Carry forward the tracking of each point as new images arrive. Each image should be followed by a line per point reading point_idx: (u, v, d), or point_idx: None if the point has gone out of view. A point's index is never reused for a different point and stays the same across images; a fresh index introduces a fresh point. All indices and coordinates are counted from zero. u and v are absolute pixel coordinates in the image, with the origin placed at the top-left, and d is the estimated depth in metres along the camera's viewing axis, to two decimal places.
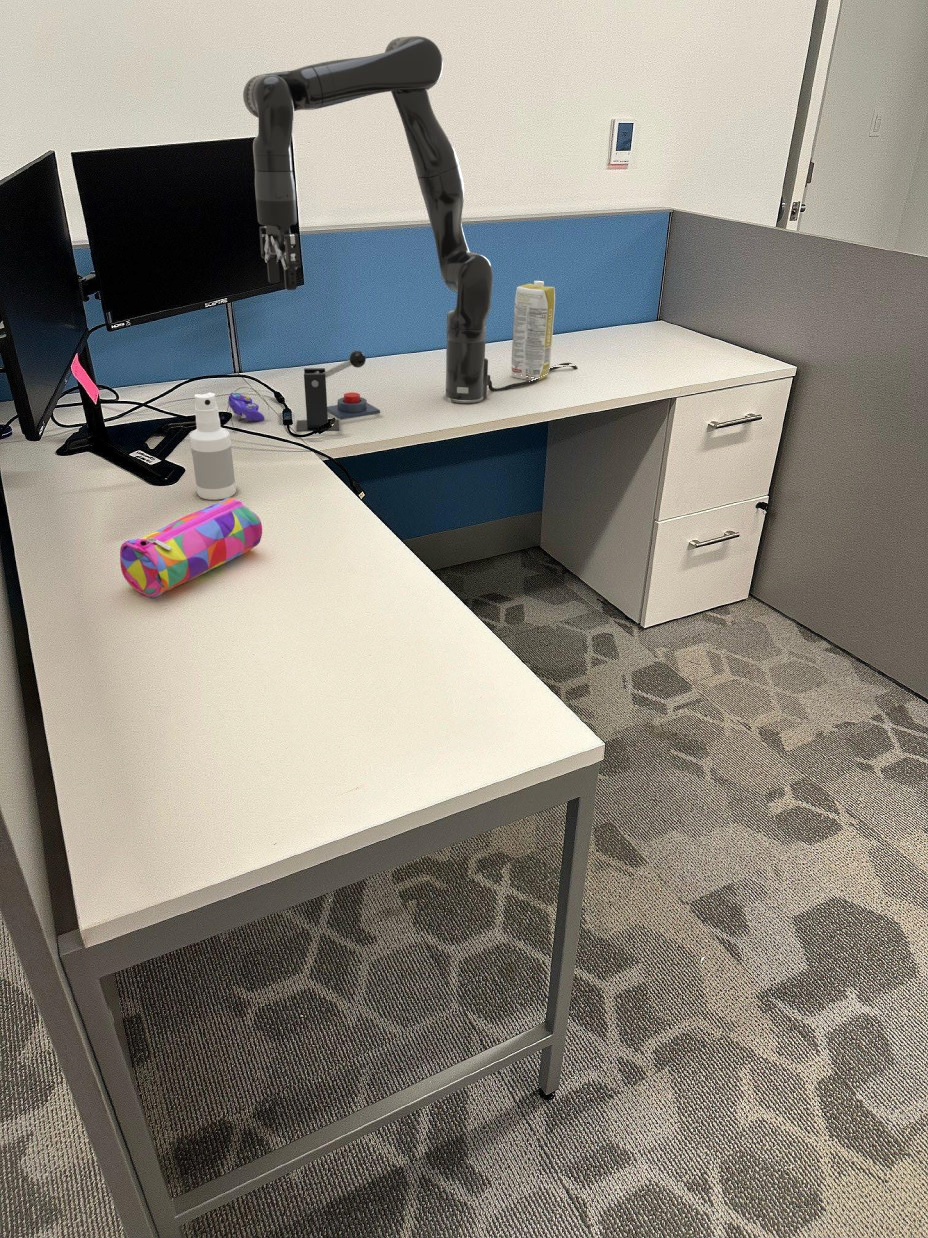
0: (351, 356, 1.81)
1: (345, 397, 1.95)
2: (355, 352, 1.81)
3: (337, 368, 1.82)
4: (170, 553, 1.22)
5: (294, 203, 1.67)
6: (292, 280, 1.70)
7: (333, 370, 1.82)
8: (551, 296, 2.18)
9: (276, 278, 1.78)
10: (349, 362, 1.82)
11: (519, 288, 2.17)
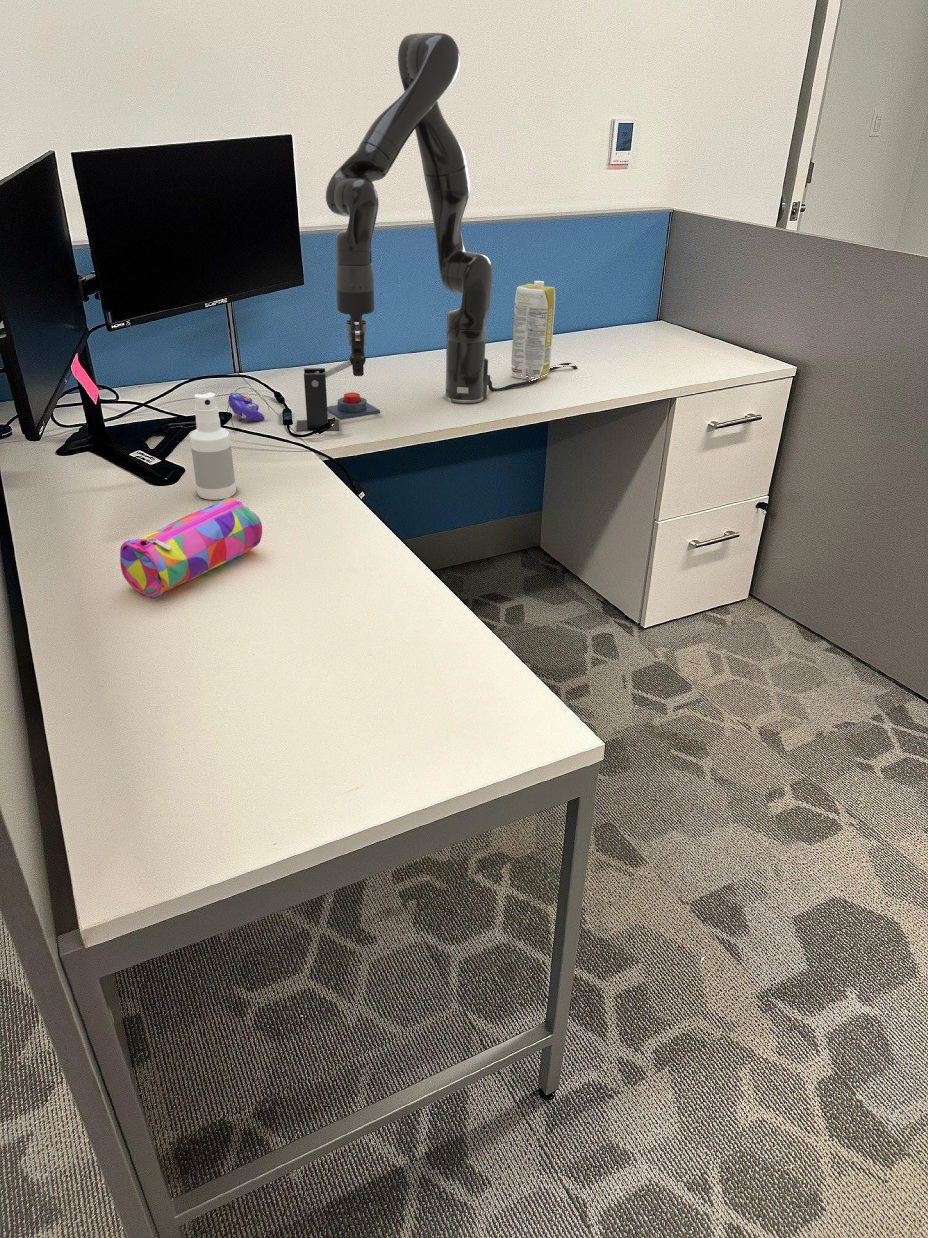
0: (351, 356, 1.81)
1: (345, 397, 1.95)
2: None
3: (337, 368, 1.82)
4: (170, 553, 1.22)
5: (369, 294, 1.73)
6: (358, 368, 1.80)
7: (333, 370, 1.82)
8: (551, 296, 2.18)
9: None
10: (349, 362, 1.82)
11: (519, 288, 2.18)
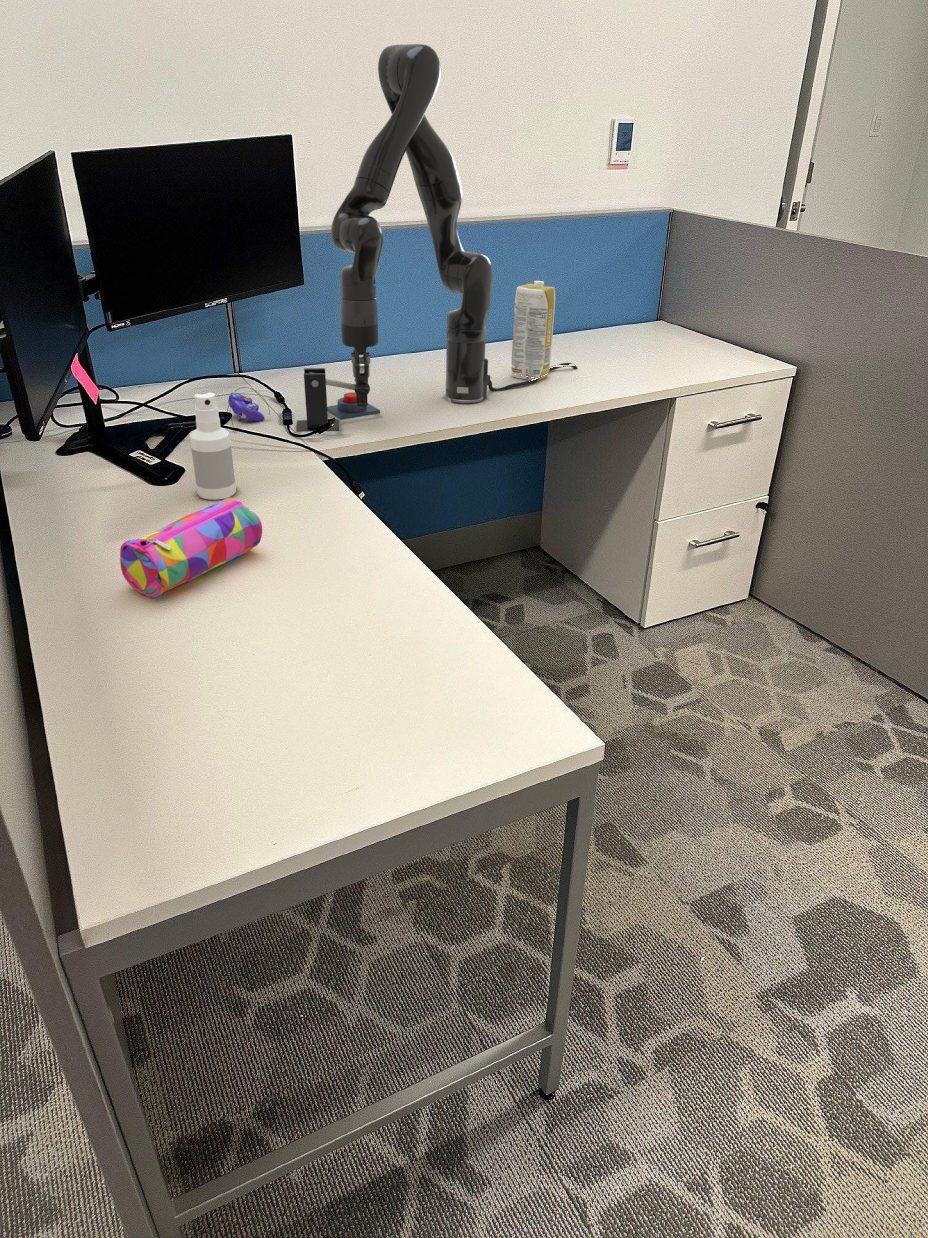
0: None
1: (345, 397, 1.95)
2: (364, 382, 1.84)
3: (340, 384, 1.84)
4: (170, 553, 1.22)
5: (373, 328, 1.77)
6: (362, 399, 1.83)
7: (336, 383, 1.83)
8: (551, 296, 2.18)
9: None
10: (353, 386, 1.84)
11: (519, 288, 2.17)
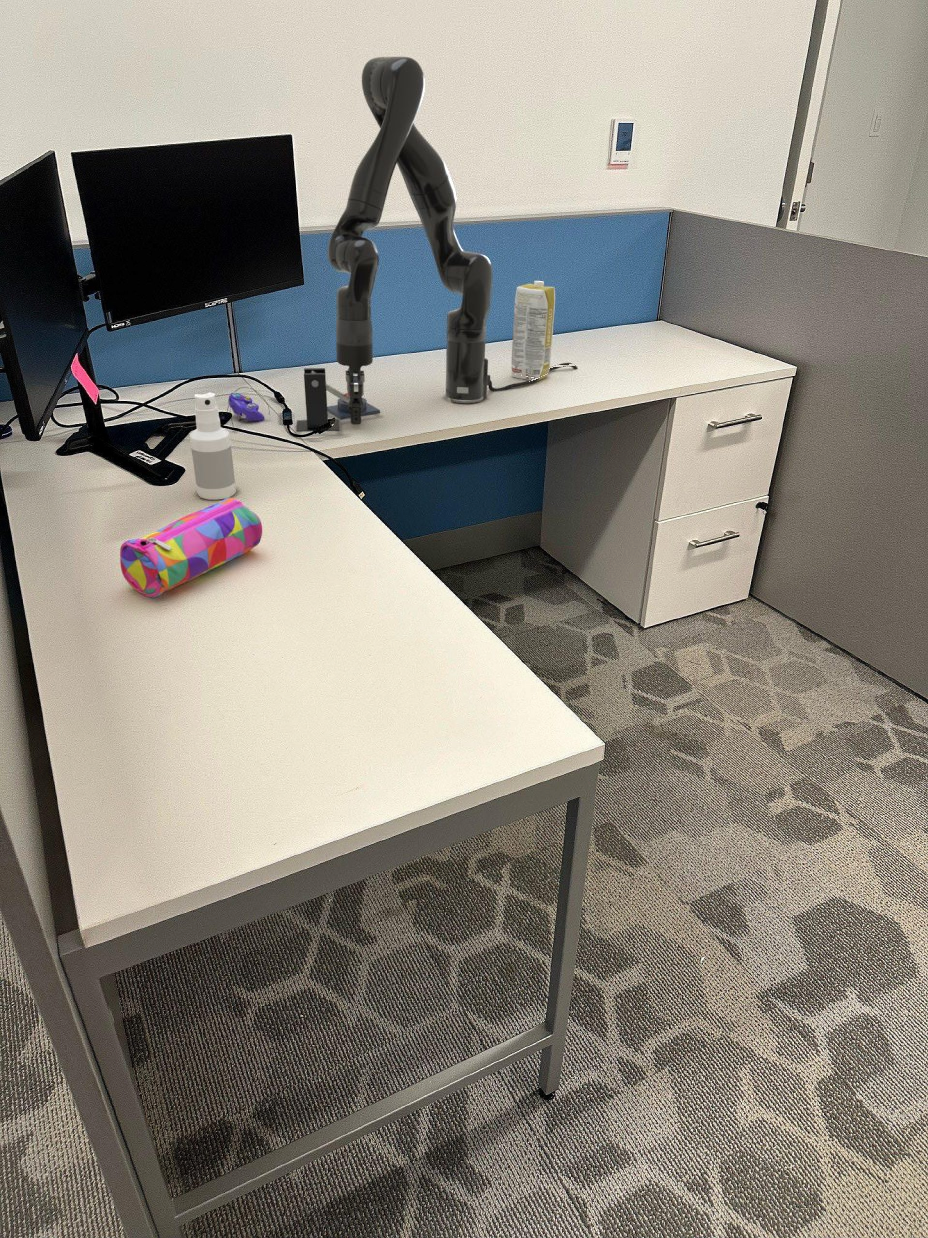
0: (355, 399, 1.85)
1: None
2: None
3: (337, 393, 1.84)
4: (170, 553, 1.22)
5: (367, 347, 1.79)
6: (356, 417, 1.85)
7: (333, 390, 1.84)
8: (551, 296, 2.18)
9: None
10: (349, 400, 1.86)
11: (519, 288, 2.17)
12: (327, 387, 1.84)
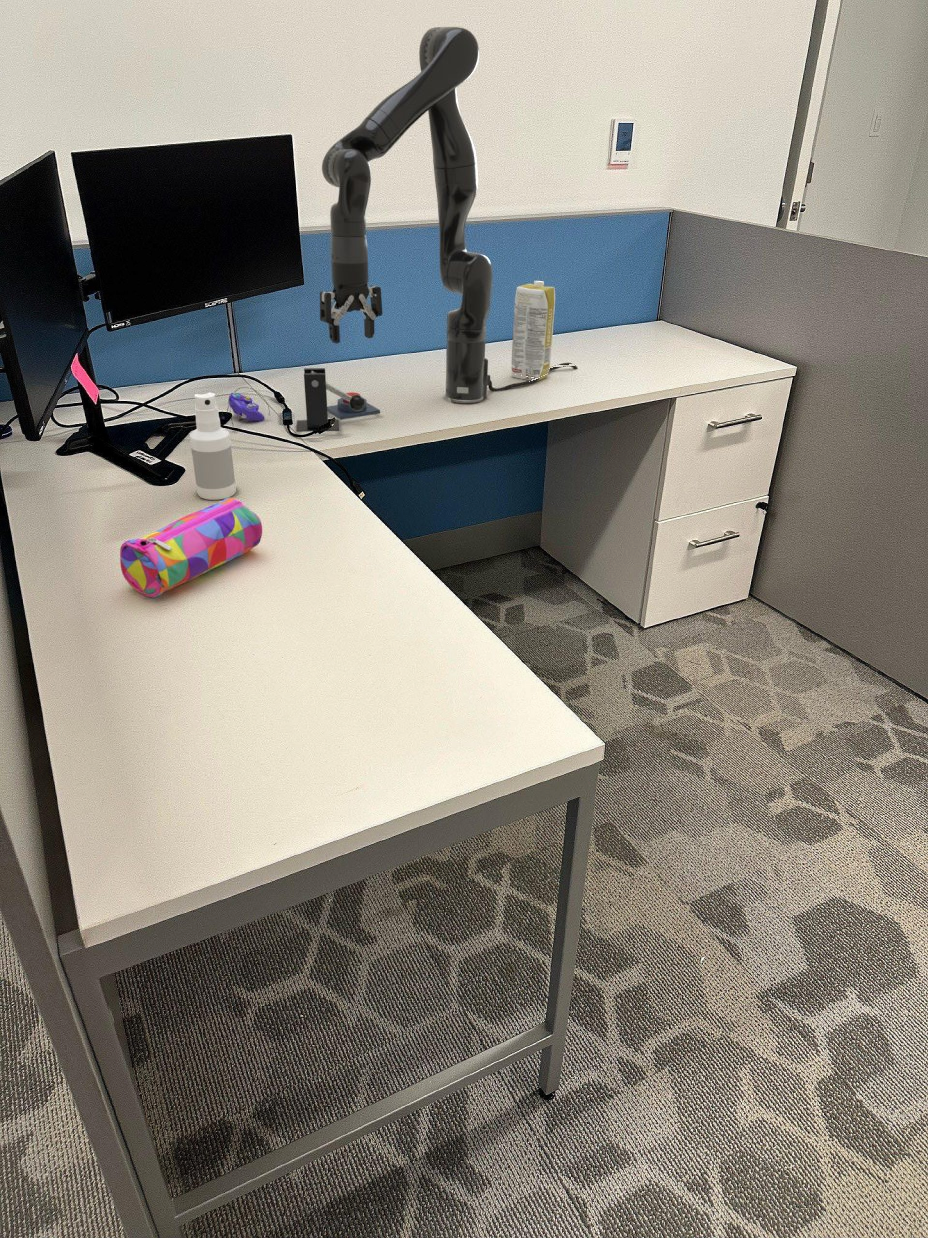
0: (356, 397, 1.85)
1: None
2: (361, 398, 1.86)
3: (338, 392, 1.84)
4: (170, 553, 1.22)
5: (346, 266, 1.74)
6: (331, 334, 1.81)
7: (334, 390, 1.84)
8: (551, 296, 2.18)
9: (368, 333, 1.87)
10: (350, 398, 1.85)
11: (519, 288, 2.17)
12: (327, 386, 1.83)
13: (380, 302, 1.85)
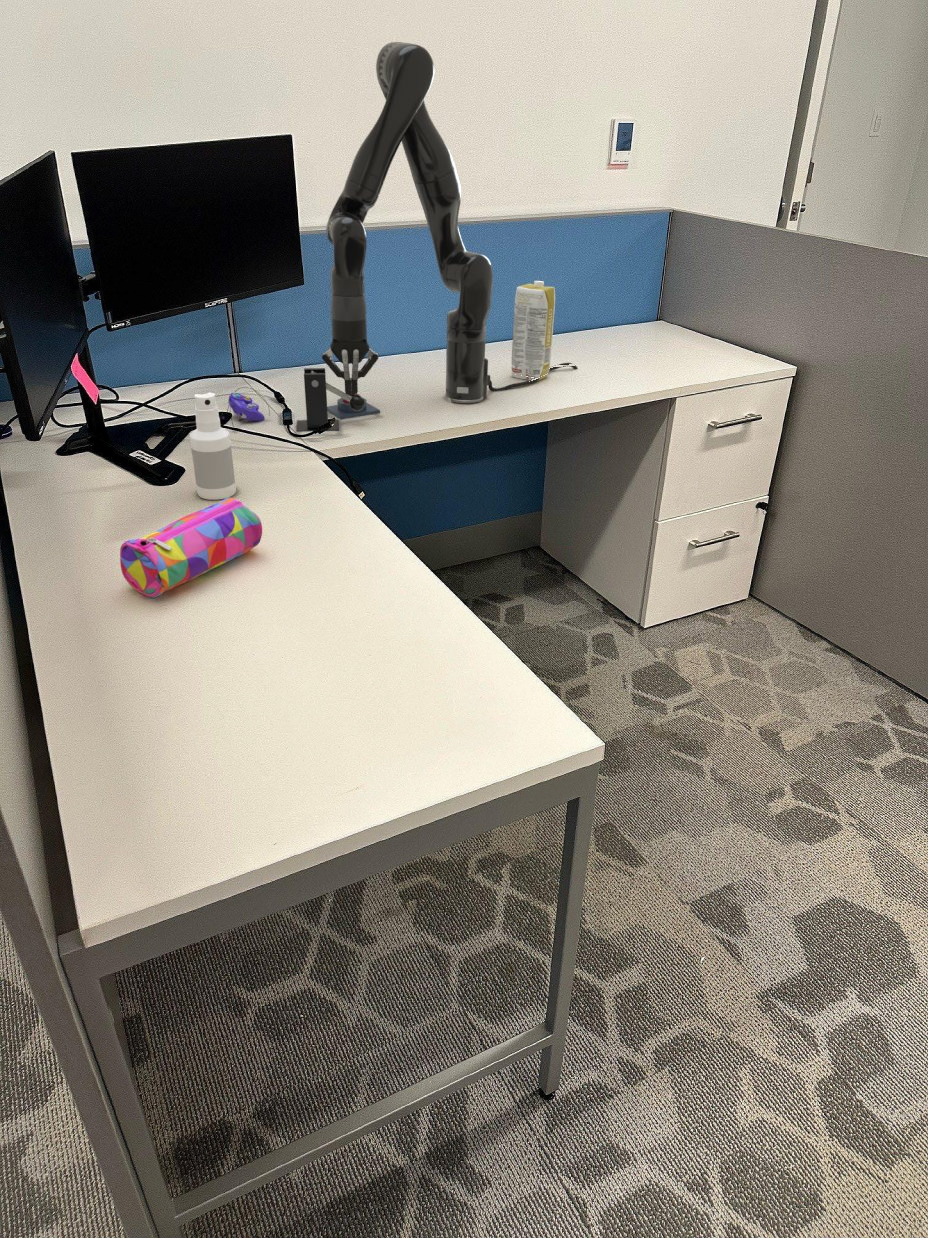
0: (356, 397, 1.85)
1: None
2: (361, 398, 1.86)
3: (338, 392, 1.84)
4: (170, 553, 1.22)
5: (337, 322, 1.84)
6: None
7: (334, 390, 1.84)
8: (551, 296, 2.18)
9: (351, 392, 1.95)
10: (350, 398, 1.85)
11: (519, 288, 2.17)
12: (327, 386, 1.83)
13: (369, 367, 1.92)
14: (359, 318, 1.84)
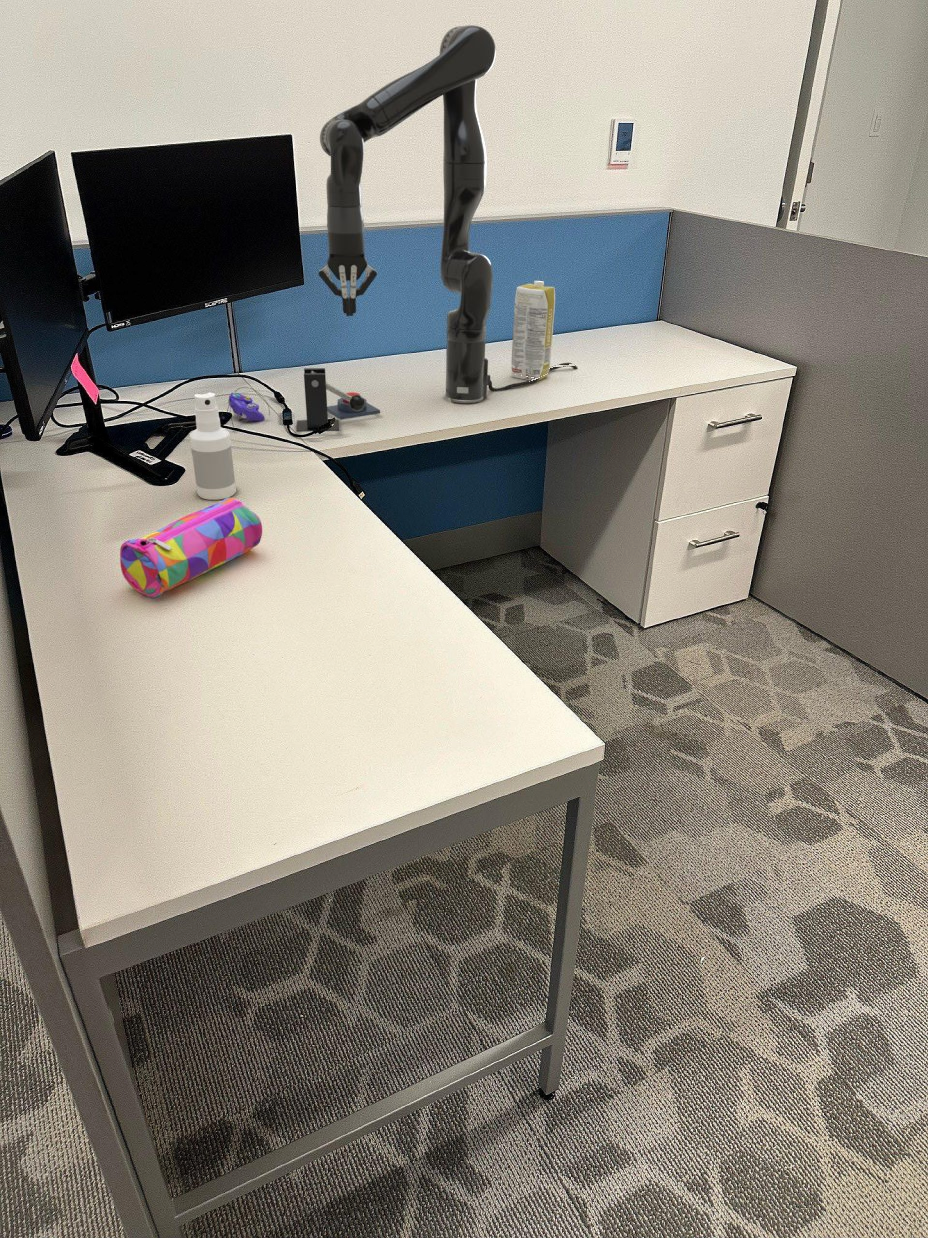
0: (356, 397, 1.85)
1: None
2: (361, 398, 1.86)
3: (338, 392, 1.84)
4: (170, 553, 1.22)
5: (333, 236, 1.79)
6: None
7: (334, 390, 1.84)
8: (551, 296, 2.18)
9: None
10: (350, 398, 1.85)
11: (519, 288, 2.17)
12: (327, 386, 1.83)
13: (367, 284, 1.86)
14: (356, 231, 1.78)
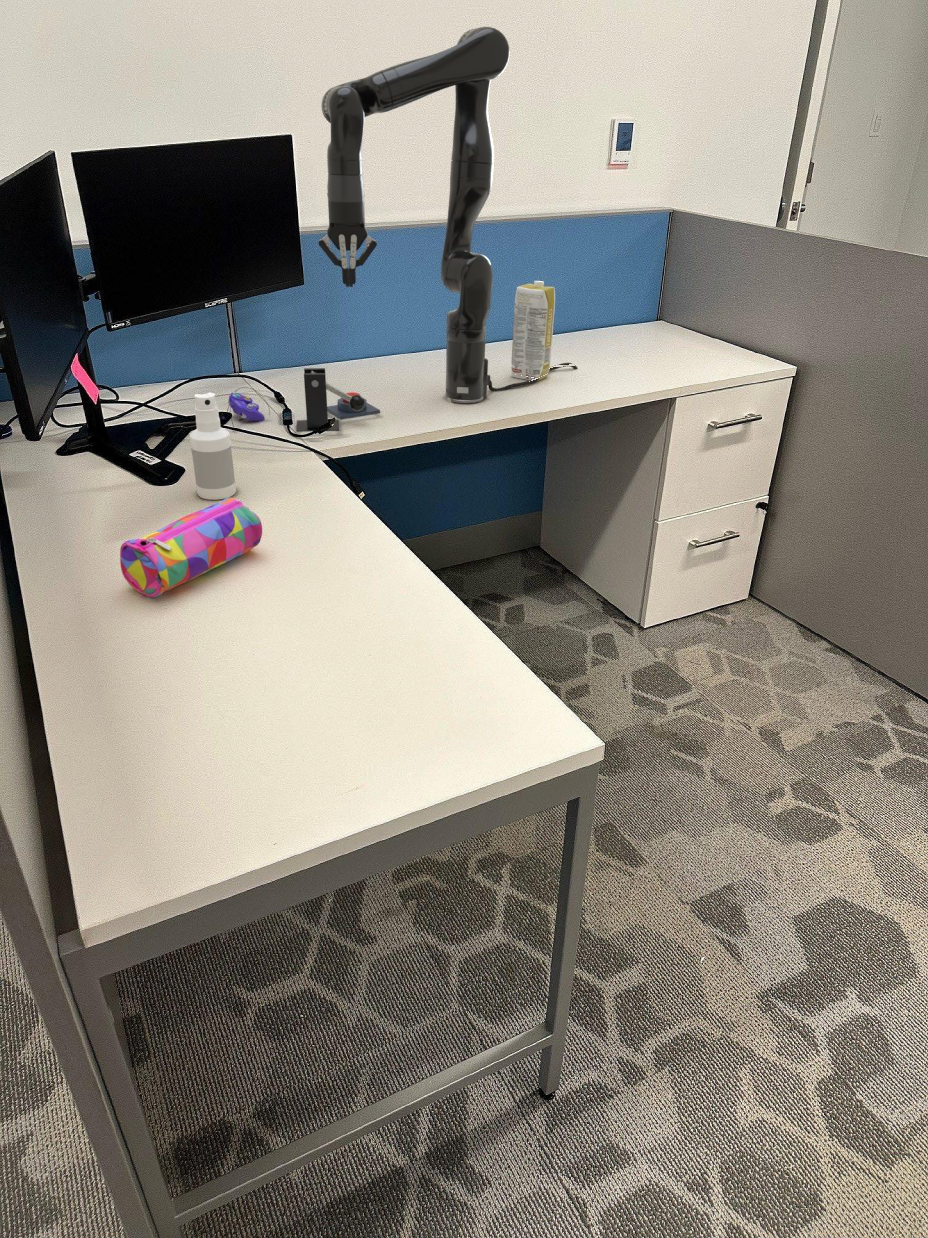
0: (356, 397, 1.85)
1: None
2: (361, 398, 1.86)
3: (338, 392, 1.84)
4: (170, 553, 1.22)
5: (333, 204, 1.78)
6: None
7: (334, 390, 1.84)
8: (551, 296, 2.18)
9: None
10: (350, 398, 1.85)
11: (519, 288, 2.17)
12: (327, 386, 1.83)
13: (367, 255, 1.85)
14: (357, 199, 1.78)
